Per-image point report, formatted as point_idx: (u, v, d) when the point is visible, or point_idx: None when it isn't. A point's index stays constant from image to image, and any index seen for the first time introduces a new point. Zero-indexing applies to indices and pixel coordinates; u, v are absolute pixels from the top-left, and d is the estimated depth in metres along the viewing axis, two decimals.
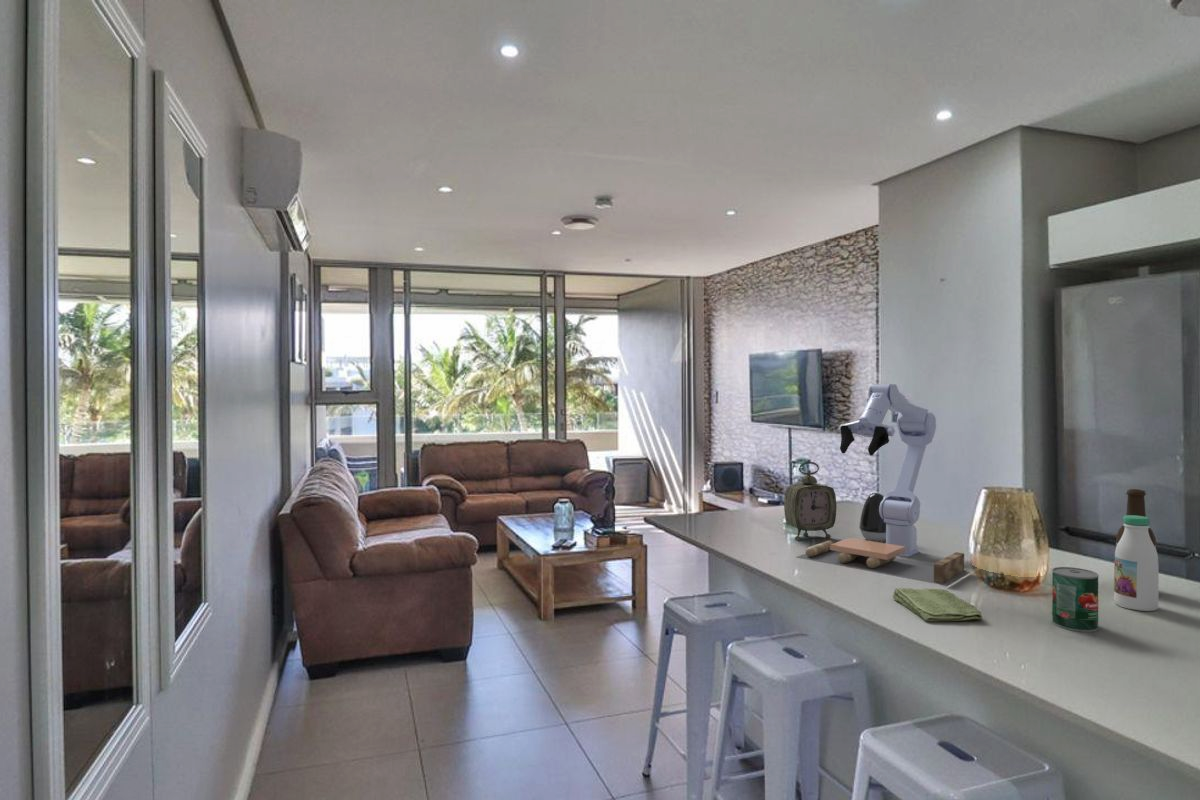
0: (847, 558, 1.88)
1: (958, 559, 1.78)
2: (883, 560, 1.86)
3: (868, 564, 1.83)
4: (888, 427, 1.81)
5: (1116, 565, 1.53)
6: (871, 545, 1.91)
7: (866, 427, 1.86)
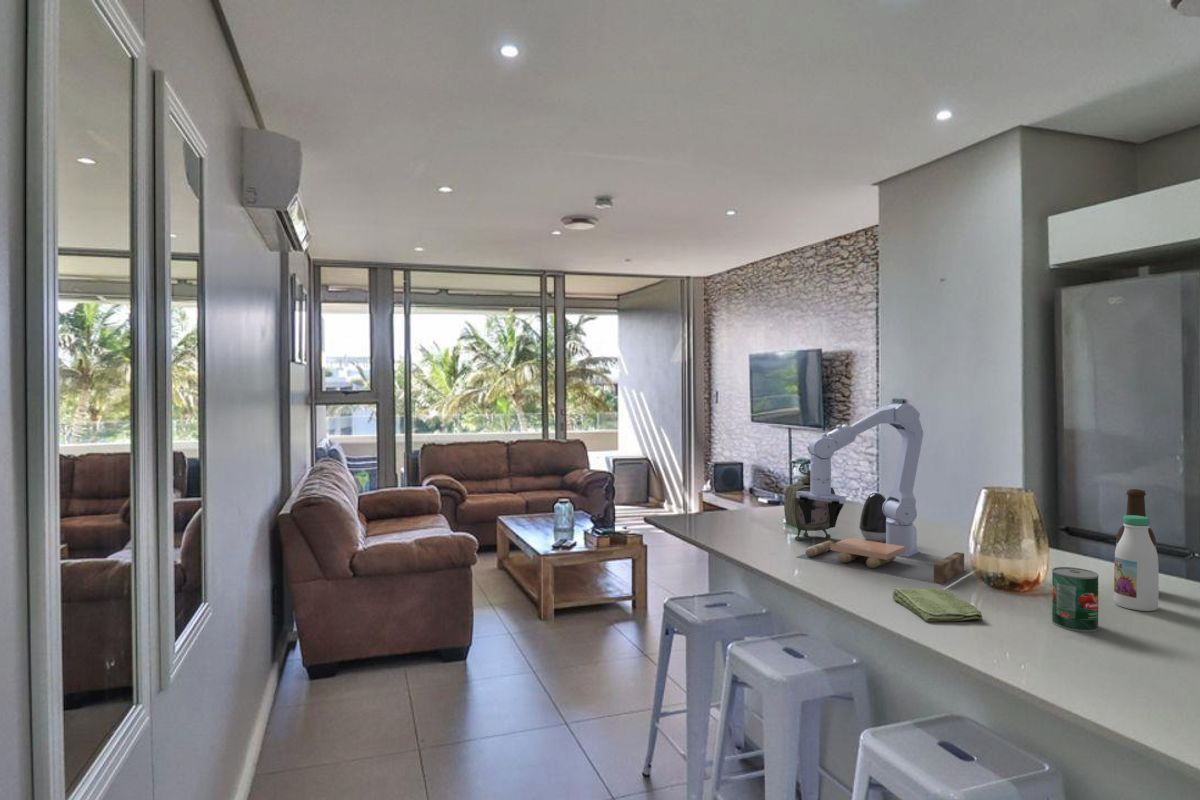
0: (847, 558, 1.88)
1: (958, 559, 1.78)
2: (883, 560, 1.86)
3: (868, 564, 1.83)
4: (839, 499, 1.95)
5: (1116, 565, 1.53)
6: (871, 545, 1.91)
7: None
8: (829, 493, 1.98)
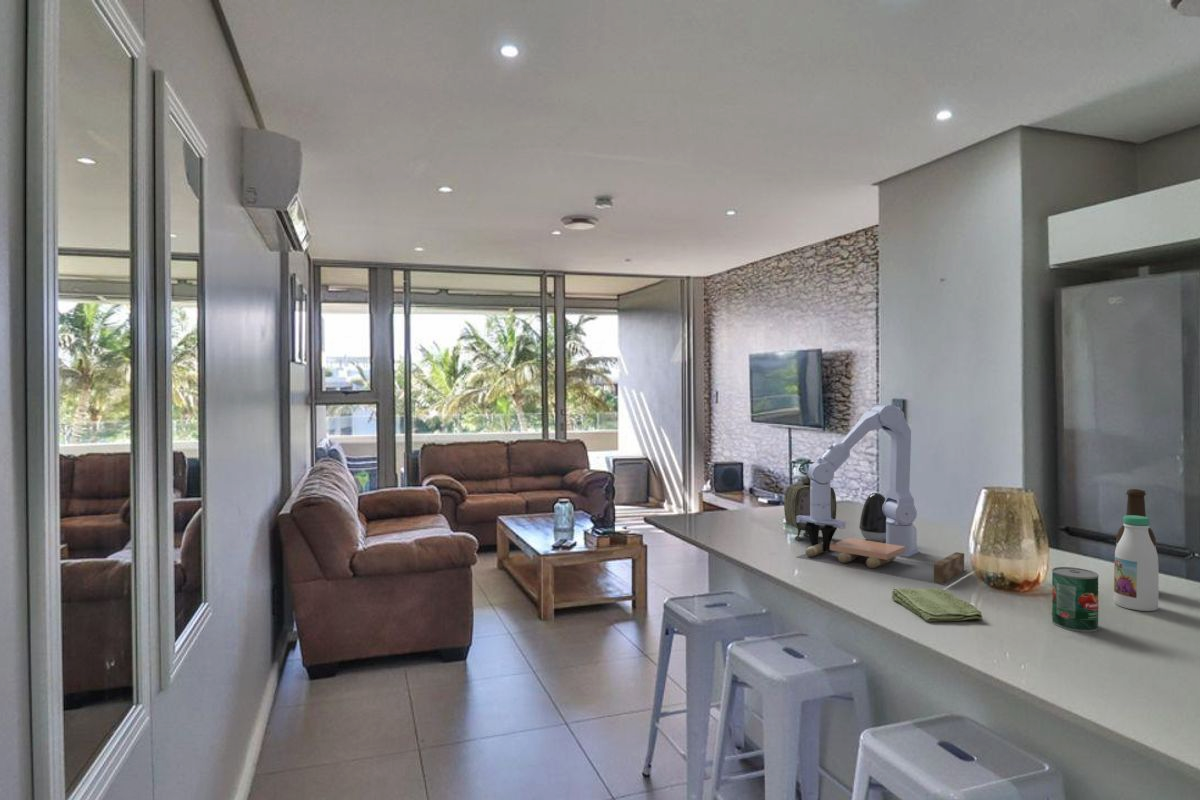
0: (847, 558, 1.88)
1: (958, 559, 1.78)
2: (883, 560, 1.86)
3: (868, 564, 1.83)
4: (838, 524, 1.96)
5: (1116, 565, 1.53)
6: (871, 545, 1.91)
7: None
8: (829, 518, 1.99)
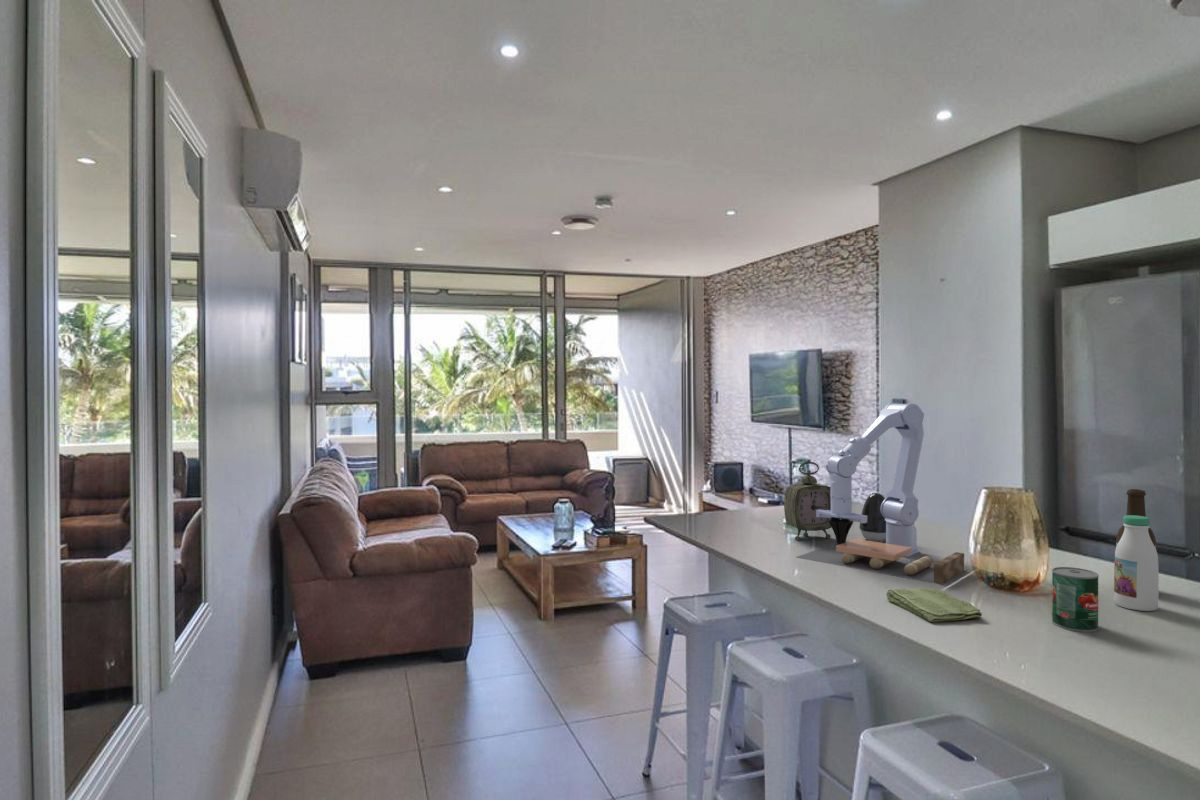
0: (850, 561, 1.88)
1: (958, 559, 1.78)
2: (886, 564, 1.85)
3: (871, 564, 1.83)
4: (860, 518, 1.91)
5: (1116, 565, 1.53)
6: (877, 546, 1.90)
7: None
8: (850, 512, 1.94)
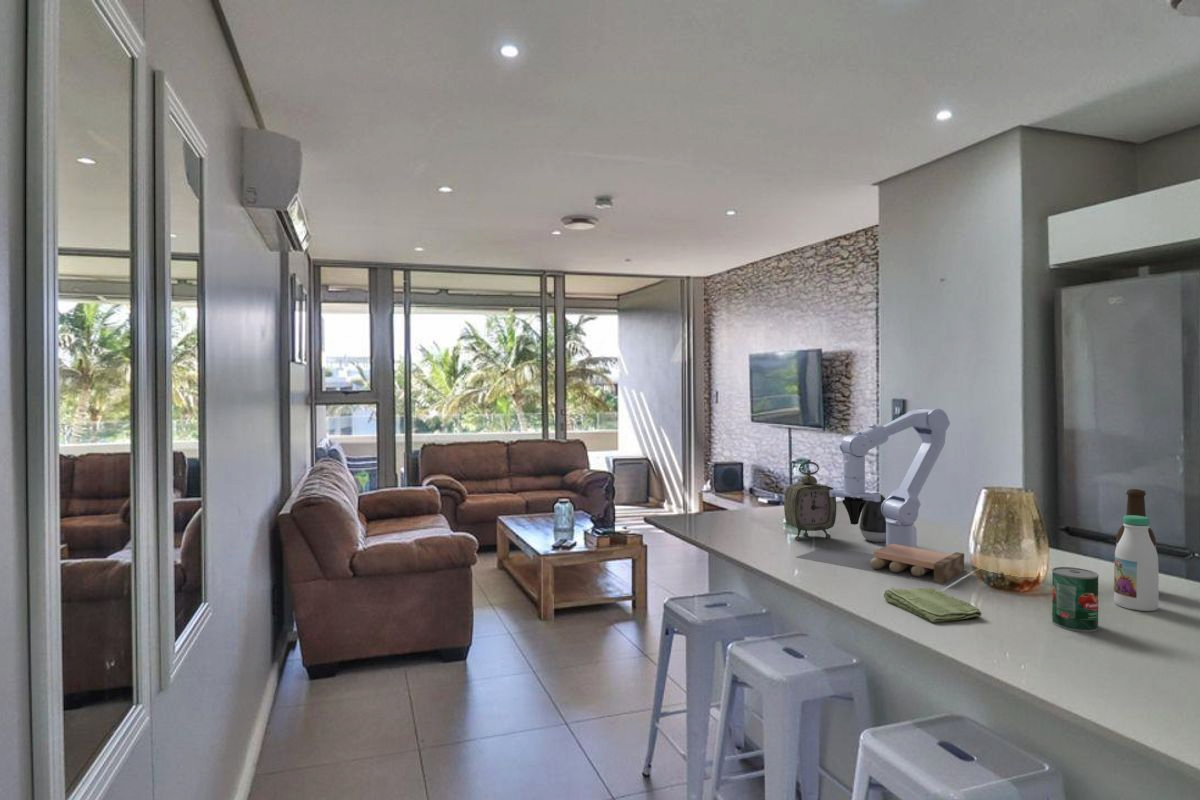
0: (880, 563, 1.82)
1: (958, 559, 1.78)
2: None
3: (895, 569, 1.78)
4: (874, 497, 1.93)
5: (1116, 565, 1.53)
6: (917, 553, 1.82)
7: None
8: (863, 491, 1.96)
